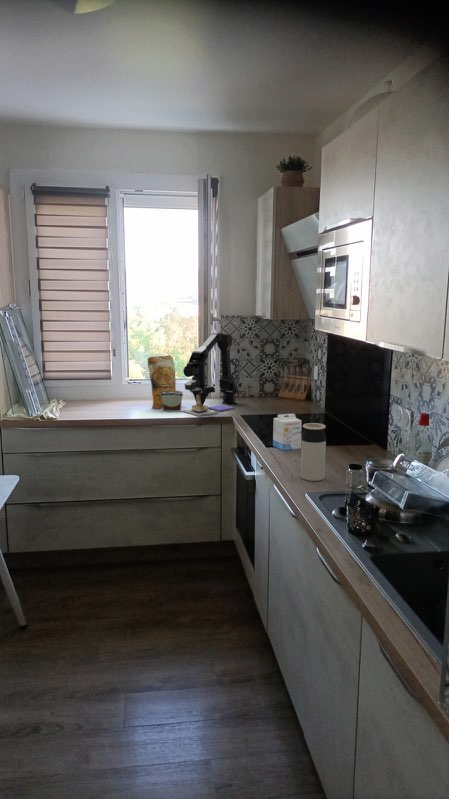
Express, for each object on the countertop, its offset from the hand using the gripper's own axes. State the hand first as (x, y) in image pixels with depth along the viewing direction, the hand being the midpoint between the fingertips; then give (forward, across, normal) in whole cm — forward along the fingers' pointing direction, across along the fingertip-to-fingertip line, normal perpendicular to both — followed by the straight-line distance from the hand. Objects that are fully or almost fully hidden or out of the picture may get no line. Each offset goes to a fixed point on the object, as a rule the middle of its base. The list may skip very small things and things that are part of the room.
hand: (199, 404), depth 287 cm
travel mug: (+5, +108, -35) cm, 114 cm away
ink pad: (+5, 0, +14) cm, 15 cm away
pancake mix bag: (+5, -27, -5) cm, 28 cm away
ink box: (+5, +76, -14) cm, 77 cm away
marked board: (+4, 0, 0) cm, 5 cm away
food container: (+5, -16, -6) cm, 18 cm away
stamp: (+4, 0, 0) cm, 4 cm away
